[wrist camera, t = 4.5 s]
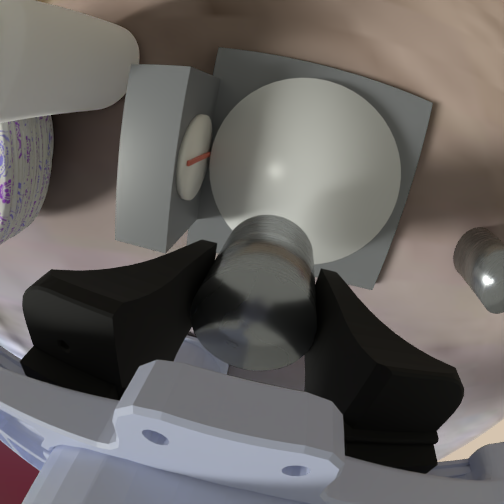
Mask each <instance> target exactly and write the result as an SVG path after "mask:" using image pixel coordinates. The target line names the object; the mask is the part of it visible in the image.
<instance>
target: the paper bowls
mask: <svg viewBox="0 0 504 504" xmlns="http://www.w3.org/2000/svg"><path fill="white" fill-rule="evenodd" d="M53 148H54V132H53V123H52V118H51V115H47V116H40V117H33V118H27V119H21V120H15V121H9V122H4V123H0V244H2V243H3V242H5V241H6V240H8V239H9V238H11V237H14V236H15V235H17V234H18V233H20V232H21V231H22V230H23V229H25V228H26V227H28V226H29V225H30V224H31V223H32V222H33V221H34V218H35V217H37V215H38V214H39V211H40V210H41V207H42V205H43V203H44V200H45V197H46V194H47V191H48V185H49V180H50V175H51V167H52V162H51V161H52V158H53V157H52V156H53Z"/></svg>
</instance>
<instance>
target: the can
mask: <svg viewBox="0 0 504 504" xmlns="http://www.w3.org/2000/svg"><path fill="white" fill-rule="evenodd" d="M131 64H139V47H138V44H137V41H136V39H135V37H134V36H133V35H132V34H131V32H129V31H128V30H127V29H125V28H123V27H121V26H119V25H116V24H114V23H111V22H108V21H105V20H102V19H100V18H97V17H94V16H90V15H87V14H84V13H81V12H78V11H74V10H71V9H67V8H63V7H60V6H56V5H52V4H48V3H43V2H39V1H34V0H0V123H4V122H9V121H15V120H21V119H27V118H33V117H40V116H47V115H55V114H63V113H72V112H81V111H91V110H100V109H104V108H107V107H109V106H111V105H113V104H114V103H116V102H117V101H118V100H120V99H121V98H122V97H123V96H124V95H125V93H126V91H127V84H128V78H129V73H130V67H131Z"/></svg>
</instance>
